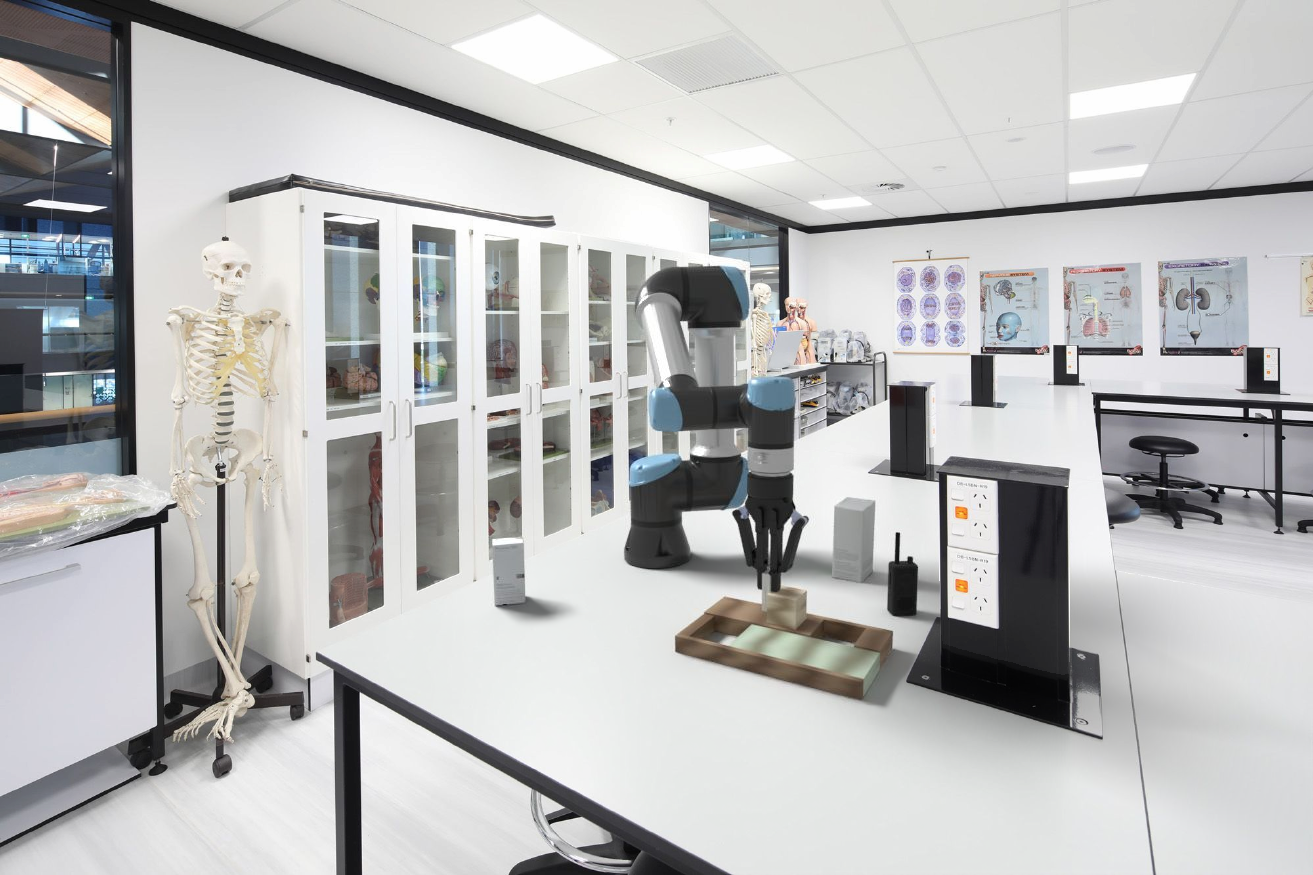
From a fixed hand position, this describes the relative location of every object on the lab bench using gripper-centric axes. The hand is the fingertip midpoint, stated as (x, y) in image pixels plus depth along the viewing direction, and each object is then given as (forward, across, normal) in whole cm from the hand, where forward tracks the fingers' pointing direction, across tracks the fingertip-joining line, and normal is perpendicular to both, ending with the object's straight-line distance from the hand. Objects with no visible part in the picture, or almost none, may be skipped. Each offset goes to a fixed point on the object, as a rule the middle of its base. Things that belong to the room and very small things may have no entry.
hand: (768, 608), depth 117 cm
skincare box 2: (+5, +4, +35) cm, 35 cm away
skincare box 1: (+5, -50, -10) cm, 51 cm away
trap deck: (+5, +4, -4) cm, 8 cm away
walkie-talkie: (+5, +17, +20) cm, 27 cm away
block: (+2, +3, 0) cm, 4 cm away
